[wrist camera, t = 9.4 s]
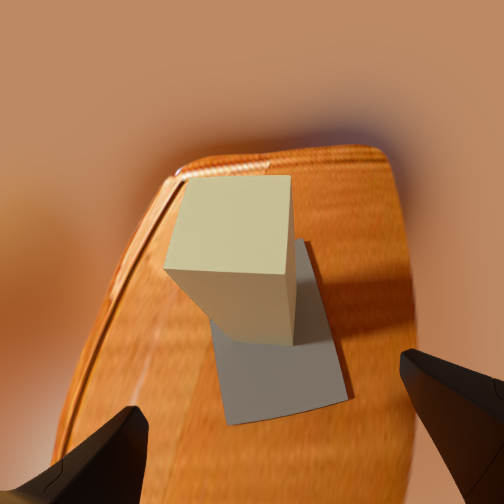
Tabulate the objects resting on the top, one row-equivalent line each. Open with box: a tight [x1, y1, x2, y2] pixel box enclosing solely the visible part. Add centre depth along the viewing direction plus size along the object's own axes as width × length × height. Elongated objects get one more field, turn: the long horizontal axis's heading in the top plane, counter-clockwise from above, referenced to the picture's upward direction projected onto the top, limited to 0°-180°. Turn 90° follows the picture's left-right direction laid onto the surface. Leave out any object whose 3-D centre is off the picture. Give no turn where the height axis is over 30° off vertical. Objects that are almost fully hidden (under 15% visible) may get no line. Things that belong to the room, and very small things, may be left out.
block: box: [163, 175, 297, 346], centre depth 17 cm, size 4×4×13 cm
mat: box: [210, 238, 348, 425], centre depth 22 cm, size 14×9×1 cm, turn 11°
